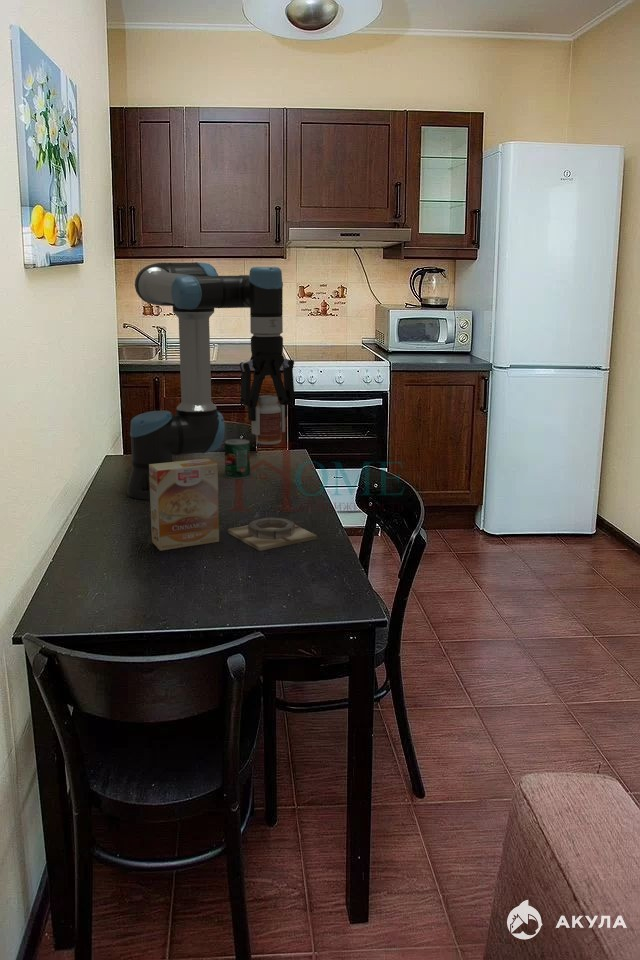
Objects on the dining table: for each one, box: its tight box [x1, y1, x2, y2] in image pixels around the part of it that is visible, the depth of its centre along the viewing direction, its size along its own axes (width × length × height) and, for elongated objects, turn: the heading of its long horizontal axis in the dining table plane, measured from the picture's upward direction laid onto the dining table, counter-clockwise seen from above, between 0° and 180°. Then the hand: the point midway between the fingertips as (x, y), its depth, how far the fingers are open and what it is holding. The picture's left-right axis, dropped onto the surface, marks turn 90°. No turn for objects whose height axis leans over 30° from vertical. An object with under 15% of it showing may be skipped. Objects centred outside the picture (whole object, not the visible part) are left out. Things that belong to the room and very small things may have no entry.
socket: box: [227, 516, 318, 552], centre depth 208 cm, size 16×16×3 cm
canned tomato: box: [223, 438, 251, 480], centre depth 264 cm, size 8×8×11 cm
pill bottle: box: [255, 395, 282, 445], centre depth 202 cm, size 6×6×11 cm
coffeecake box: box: [149, 458, 220, 551], centre depth 201 cm, size 15×7×20 cm, turn 118°
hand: (268, 432), depth 203 cm, fingers closed on pill bottle, 6 cm apart
